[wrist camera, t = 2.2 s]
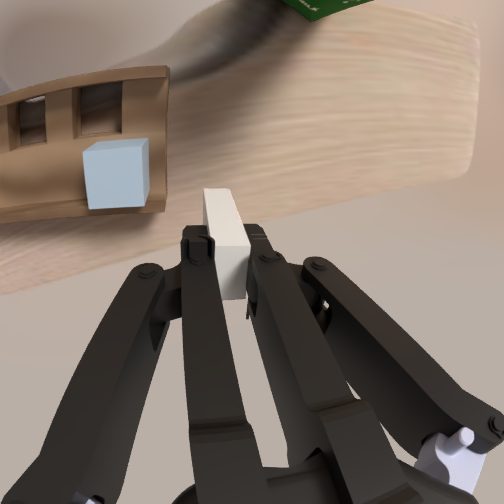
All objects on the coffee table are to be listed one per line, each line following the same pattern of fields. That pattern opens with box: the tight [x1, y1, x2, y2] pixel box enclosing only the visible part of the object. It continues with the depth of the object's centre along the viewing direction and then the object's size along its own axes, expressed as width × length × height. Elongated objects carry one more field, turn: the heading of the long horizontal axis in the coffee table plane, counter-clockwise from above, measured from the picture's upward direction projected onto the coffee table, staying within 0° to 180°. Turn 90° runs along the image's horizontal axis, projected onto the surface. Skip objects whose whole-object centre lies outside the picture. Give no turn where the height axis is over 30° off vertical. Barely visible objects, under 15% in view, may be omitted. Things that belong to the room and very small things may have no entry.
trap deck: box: [0, 65, 170, 224], centre depth 20 cm, size 13×24×5 cm, turn 85°
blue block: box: [83, 138, 150, 209], centre depth 22 cm, size 5×5×4 cm
